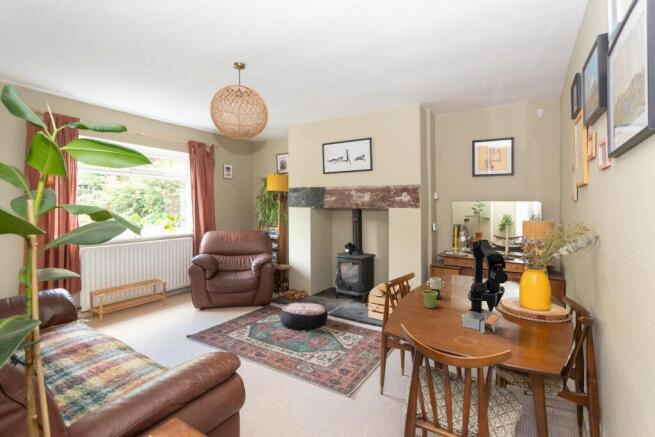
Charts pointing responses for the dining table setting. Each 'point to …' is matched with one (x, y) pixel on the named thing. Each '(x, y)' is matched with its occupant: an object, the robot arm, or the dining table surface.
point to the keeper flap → (491, 319)
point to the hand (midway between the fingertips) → (493, 309)
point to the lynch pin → (481, 320)
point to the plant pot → (429, 298)
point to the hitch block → (477, 321)
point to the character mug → (435, 285)
